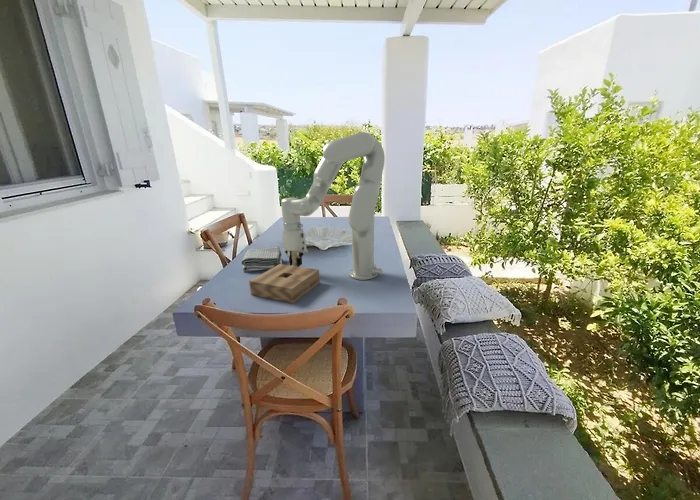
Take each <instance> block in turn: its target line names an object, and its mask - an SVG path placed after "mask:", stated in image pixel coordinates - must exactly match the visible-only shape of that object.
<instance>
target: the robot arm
mask: <svg viewBox="0 0 700 500" xmlns="http://www.w3.org/2000/svg"><path fill="white" fill-rule="evenodd" d="M361 157H363V161H362V162H363V163H362V167H361V173H360V177H359V182H358V184H357V185H356V186H355V188H354V191H353V195H352V199H351V204H350V210H349V215H348V225H349V228H351V249H352V251H351V252H352V253H351V254H352V255H351V257H352V269H351V270H350V271H349V273H348V274H349V277H350V278H351V279H355V280H360V281H365V280H366V281H368V280H372V279H375V278H376V277H377V276H378V275H383V273H384V270H383V268H379V267H377V264H375V255H374V254H375V246H374V245H375V212H376V207H377V203H378V199H379V195H380V187H381V182H382V178H383V172H384V167H385V160H386V159H385V151H384V148H383V146H382V143H381V142H380V141H379V140H378V139H377V138H376V137H375V136H374V135H373V134H371V133H370V132H366V131H363V132H362V131H359V132H356V133H354V134H350V135H347V136H344V137H340V138H338V139H334V140H331V141H329V142H327V143H325V145H324V147H323V150H322V157H321V159H320V161H319V162H318V165H317V167H316V168H315V170H314V172H313V182H312V183H311V186H310V188H309V190H308V191H307V193H306V195H305V196H304V197H303V198H300V199H298V198H297V197H285V198H282V199H281V200H280V201H281V204H280V205H281V215H282V223H283V229H282V240H281V241H282V248H281V250H282V252H284V253H285V254H286V256H287V257H288V262H289V265H290V266H293V265H292V255H291V251H295V252H296V253H297V258H296V261H297V266H298V267H299V266H300V267H301V266H302V265H303V259H302V257H303V256H304V255H305V254H307V253H308V249H307V241H306V236H305V231H304V229H303V227H304V224H302V222H301V217H309V216H312V215H313V214H314V213H315V212H316V211H318V209H319V208H320V206H321V204H322V202H323V201H324V199H325V197H326V195H327V193H328V191H329V189H330V188H331V186H332V184H333V182H334V180H335V179H336V176H337V175H338V173H339V171H340V169H341V168H342V166H343V164H344V162H348V161H352V160H355V159H358V158H361Z"/></svg>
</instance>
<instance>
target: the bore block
mask: <svg viewBox="0 0 700 500" xmlns="http://www.w3.org/2000/svg"><path fill="white" fill-rule="evenodd" d="M320 280H321V279H320V269H316V268H310V267H309V268H308V267H303V266H300V267H297V266H293V265H290V264H284V263H282V264H279V265H277V266H275V267H274V268H272V269H267V270H265V271H264V272H263V273H261V274H259V275H257V276H255V277H254V278H251V279H250V280H249V282H248V283H249V288H250V296H255V297H261V298H266V299H271V300H275V301H280V302H284V303H290V304H294V303H296V302H297V301H298V300H300V299H301V298H302V297H304V295H306V294H307V293H309V292H310V291H311V290H313V289H314V288H315V287H316V286H318V285H320V282H321V281H320Z"/></svg>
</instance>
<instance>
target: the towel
mask: <svg viewBox="0 0 700 500" xmlns="http://www.w3.org/2000/svg"><path fill="white" fill-rule="evenodd" d="M241 264H242V271H243V272H256V271H257V272H258V271H268V270H270V269H272V268H274V267H275V266H277V265H279V264H283V261H282V252H281V249H280V246H279V245H278V246H276V245H275V246H269V247H256V248H249V249H248V250H247V251H245V253H244V256H243V258H242V261H241Z"/></svg>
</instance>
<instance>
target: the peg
mask: <svg viewBox="0 0 700 500" xmlns="http://www.w3.org/2000/svg"><path fill="white" fill-rule="evenodd" d="M291 255H292V265H291V266H297V261H296V258H297V253H296V252H295V251H291ZM297 267H298V266H297ZM299 267H301V265H300V266H299Z"/></svg>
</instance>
